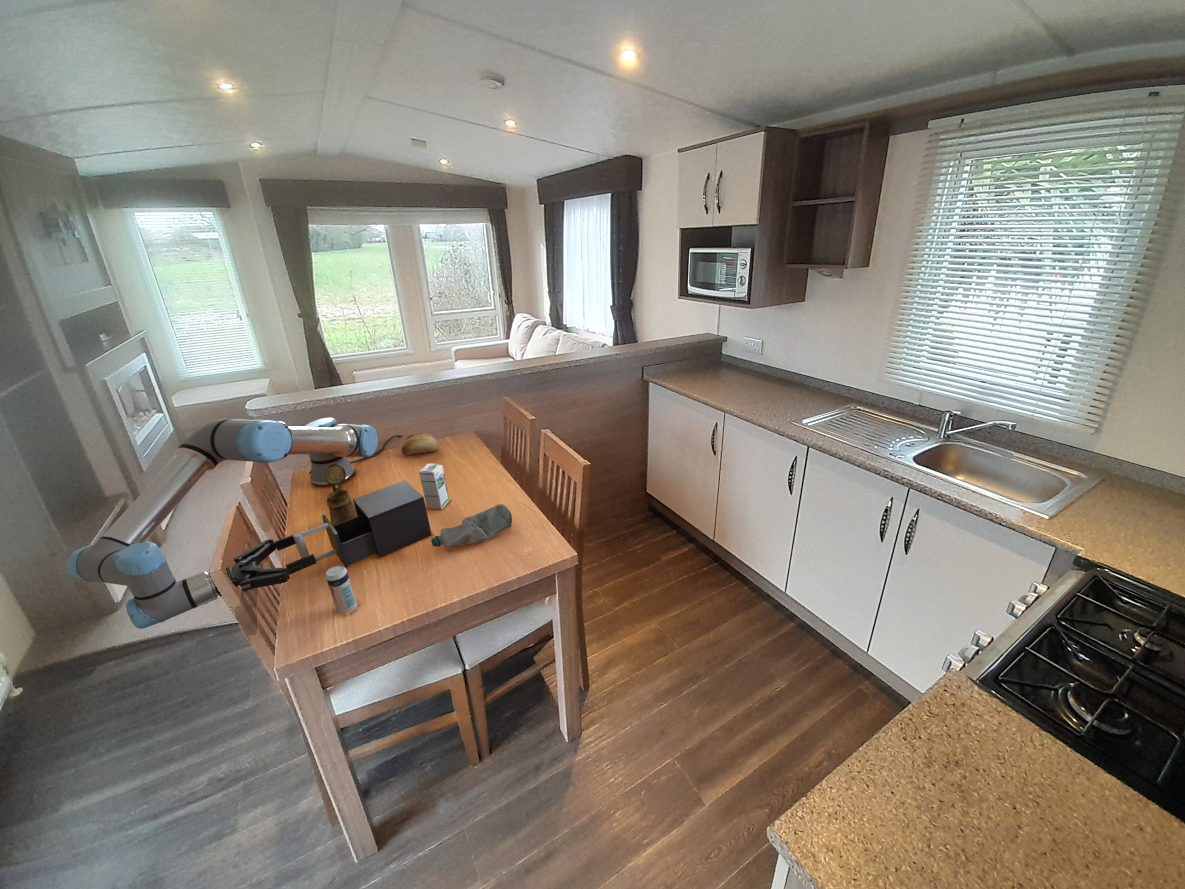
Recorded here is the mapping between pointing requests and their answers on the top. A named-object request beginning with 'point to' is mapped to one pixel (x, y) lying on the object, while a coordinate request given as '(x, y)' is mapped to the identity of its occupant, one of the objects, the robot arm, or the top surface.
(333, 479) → the wooden mug
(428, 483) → the syrup box
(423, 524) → the drawer cabinet
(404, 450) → the bread roll
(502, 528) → the crushed plastic bottle
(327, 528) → the dark grey drawer
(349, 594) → the beer can
